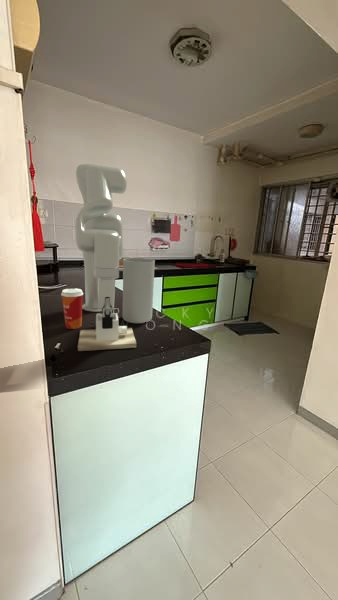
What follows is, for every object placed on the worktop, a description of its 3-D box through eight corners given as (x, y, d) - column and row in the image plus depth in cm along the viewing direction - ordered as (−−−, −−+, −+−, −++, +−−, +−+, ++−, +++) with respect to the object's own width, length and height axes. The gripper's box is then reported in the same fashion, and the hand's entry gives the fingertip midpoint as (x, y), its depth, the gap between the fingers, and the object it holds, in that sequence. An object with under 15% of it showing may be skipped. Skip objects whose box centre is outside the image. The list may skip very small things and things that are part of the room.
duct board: (80, 333, 90) (80, 330, 89) (131, 331, 95) (131, 327, 94) (77, 351, 78) (77, 346, 77) (136, 347, 83) (136, 343, 82)
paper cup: (62, 323, 98) (60, 288, 94) (83, 321, 101) (82, 287, 97) (63, 331, 91) (61, 293, 87) (85, 329, 94) (84, 292, 90)
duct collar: (96, 332, 88) (96, 313, 86) (125, 331, 91) (125, 312, 89) (96, 341, 82) (95, 321, 80) (127, 339, 84) (127, 319, 82)
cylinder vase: (126, 325, 100) (127, 262, 93) (119, 314, 111) (120, 257, 104) (155, 322, 105) (159, 262, 98) (147, 312, 116) (149, 258, 109)
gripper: (95, 266, 87) (95, 313, 92) (93, 278, 71) (94, 333, 76) (117, 267, 89) (116, 312, 94) (121, 278, 73) (120, 332, 78)
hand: (107, 322), depth 85 cm, fingers open, 9 cm apart
